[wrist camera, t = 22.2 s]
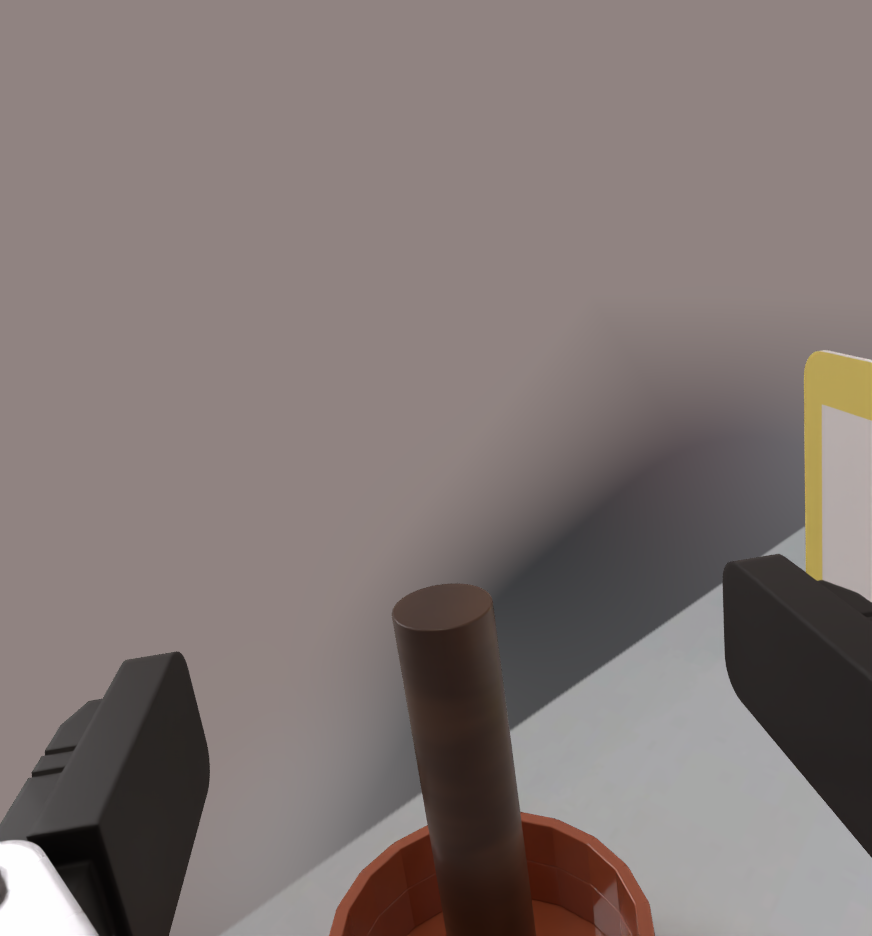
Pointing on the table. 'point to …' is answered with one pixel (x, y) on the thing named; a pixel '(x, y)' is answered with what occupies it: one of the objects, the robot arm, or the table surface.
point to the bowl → (550, 876)
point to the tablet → (839, 470)
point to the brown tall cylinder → (465, 758)
